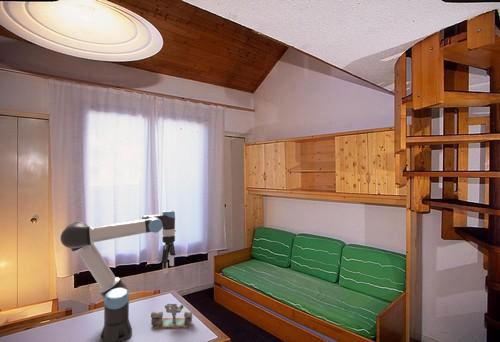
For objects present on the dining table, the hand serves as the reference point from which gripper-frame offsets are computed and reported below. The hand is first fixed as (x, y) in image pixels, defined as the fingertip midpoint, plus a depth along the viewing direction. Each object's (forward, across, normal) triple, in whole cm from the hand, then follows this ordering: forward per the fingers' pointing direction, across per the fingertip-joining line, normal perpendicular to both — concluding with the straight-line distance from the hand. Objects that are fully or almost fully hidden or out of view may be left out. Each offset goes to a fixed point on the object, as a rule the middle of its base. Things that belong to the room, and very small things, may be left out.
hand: (168, 269), depth 167 cm
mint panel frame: (+27, -13, -7) cm, 30 cm away
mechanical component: (+26, -13, -7) cm, 30 cm away
